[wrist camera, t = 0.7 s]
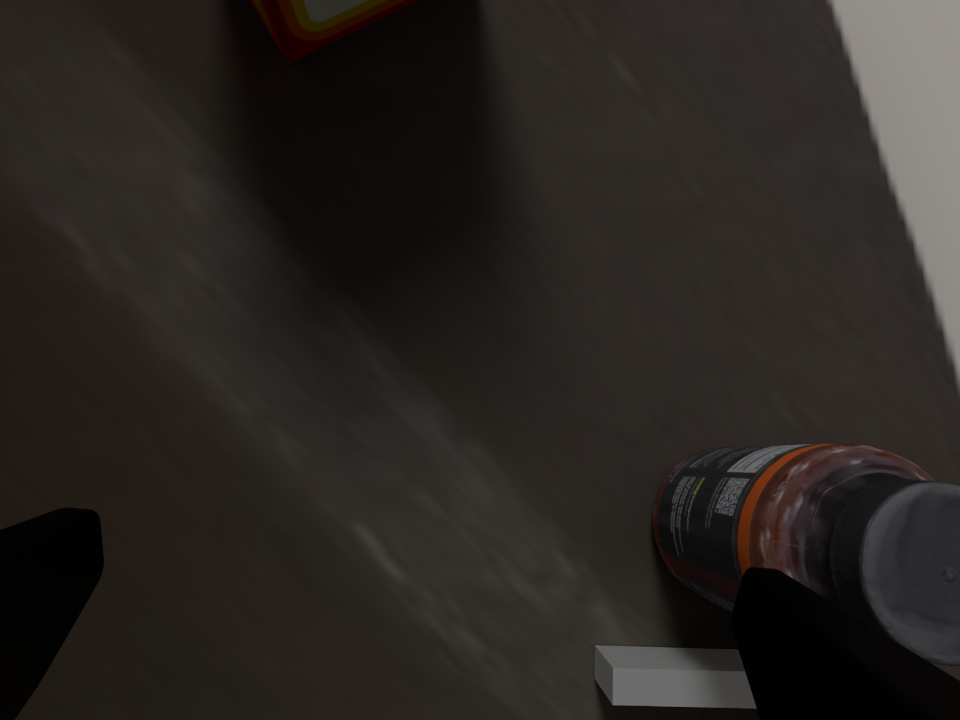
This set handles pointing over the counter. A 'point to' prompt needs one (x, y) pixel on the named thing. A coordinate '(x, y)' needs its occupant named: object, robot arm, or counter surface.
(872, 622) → the supplement bottle
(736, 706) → the grey rectangular bar
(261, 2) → the baking soda box
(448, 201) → the counter surface
